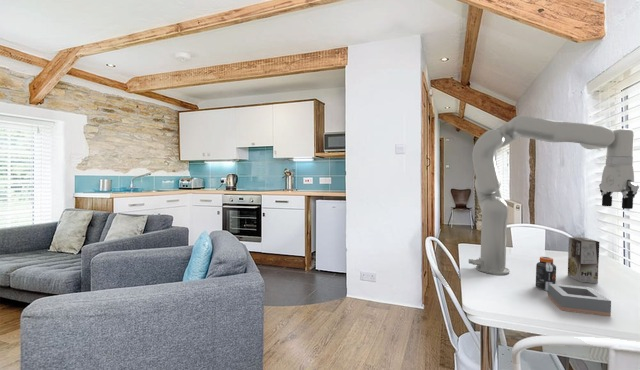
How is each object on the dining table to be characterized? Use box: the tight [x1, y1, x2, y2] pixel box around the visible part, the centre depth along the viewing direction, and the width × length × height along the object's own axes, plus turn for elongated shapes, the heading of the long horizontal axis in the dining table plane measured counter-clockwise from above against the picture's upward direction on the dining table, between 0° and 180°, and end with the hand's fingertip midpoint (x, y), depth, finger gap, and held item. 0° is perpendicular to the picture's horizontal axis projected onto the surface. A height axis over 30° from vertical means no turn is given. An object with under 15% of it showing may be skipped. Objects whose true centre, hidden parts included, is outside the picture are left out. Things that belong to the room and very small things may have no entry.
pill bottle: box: [535, 256, 557, 292], centre depth 117 cm, size 6×6×11 cm
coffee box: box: [567, 236, 600, 284], centre depth 129 cm, size 9×6×16 cm
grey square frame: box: [547, 283, 612, 317], centre depth 102 cm, size 12×12×4 cm
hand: (616, 207), depth 123 cm, fingers open, 9 cm apart
